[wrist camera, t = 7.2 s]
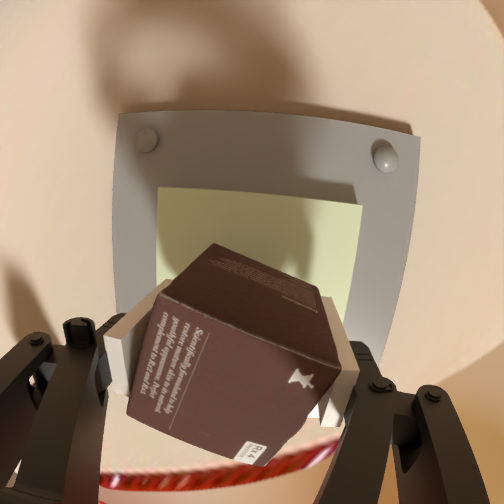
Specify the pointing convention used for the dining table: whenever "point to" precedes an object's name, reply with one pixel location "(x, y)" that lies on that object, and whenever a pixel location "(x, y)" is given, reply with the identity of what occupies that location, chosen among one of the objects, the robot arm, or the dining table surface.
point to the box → (233, 357)
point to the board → (267, 205)
